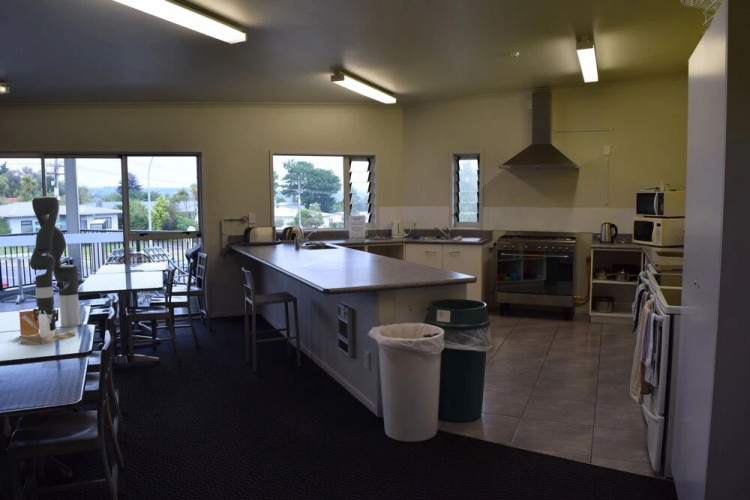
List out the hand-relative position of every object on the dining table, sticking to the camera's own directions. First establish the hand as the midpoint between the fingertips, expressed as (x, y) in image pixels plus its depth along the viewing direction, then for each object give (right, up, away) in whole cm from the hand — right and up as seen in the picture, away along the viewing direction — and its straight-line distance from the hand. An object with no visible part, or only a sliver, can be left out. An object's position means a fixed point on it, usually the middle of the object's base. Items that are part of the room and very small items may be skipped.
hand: (47, 329), depth 287 cm
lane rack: (0, -5, 0) cm, 5 cm away
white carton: (0, -4, 0) cm, 4 cm away
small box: (-15, -5, +11) cm, 19 cm away
